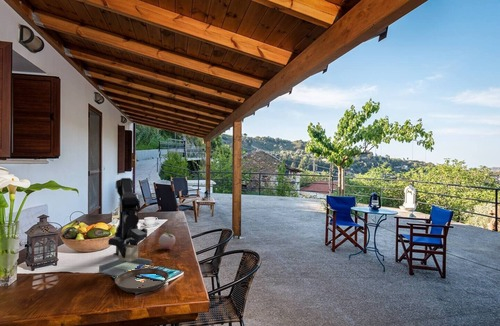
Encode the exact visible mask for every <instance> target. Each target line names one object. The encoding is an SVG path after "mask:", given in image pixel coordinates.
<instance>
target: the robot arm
mask: <svg viewBox="0 0 500 326" xmlns="http://www.w3.org/2000/svg"><path fill="white" fill-rule="evenodd" d="M133 188H134V180H133V179H132V178H130V177H122V178H119V179H117V180H116V181H115V189H116V192H117V194H118V196H119V215H118V216H119V218H118V219H119V221H118V222H119V224H118V225H117V227H116V228H115V232H114V235H113V237H109V239H108V243H107V244H108V245H110V246H115V252H114V253H113V255H116V256H119V251H120V253H121V255H122V257H123V258H125V254H126V246H127V245H128V244H129V245H135V246H139V245H138V244H139V243H140V242H141V241H144V239H147V238H148V229H147V228H146V227H145V228H142V229H139V227H138V224H139V222H140V219H139V217H138V215H137V213H138V212H140V210H141V203H140V200H139V198H138V196H137V194H136V193H134V192H133Z"/></svg>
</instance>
